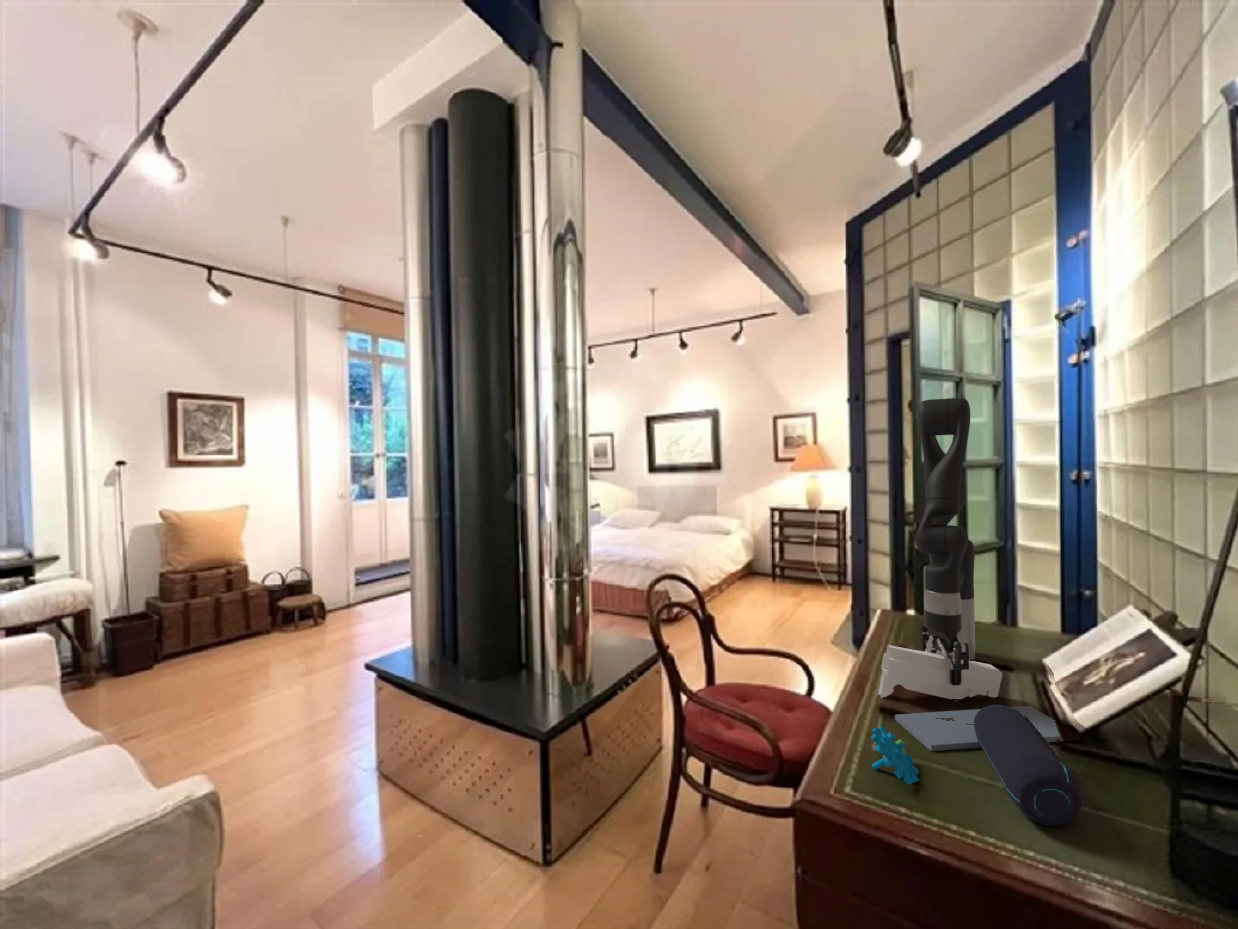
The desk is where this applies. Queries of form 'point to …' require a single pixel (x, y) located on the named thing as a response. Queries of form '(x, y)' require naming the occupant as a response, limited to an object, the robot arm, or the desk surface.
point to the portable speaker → (1028, 766)
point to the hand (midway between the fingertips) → (943, 677)
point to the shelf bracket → (935, 675)
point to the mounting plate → (963, 727)
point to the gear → (894, 755)
